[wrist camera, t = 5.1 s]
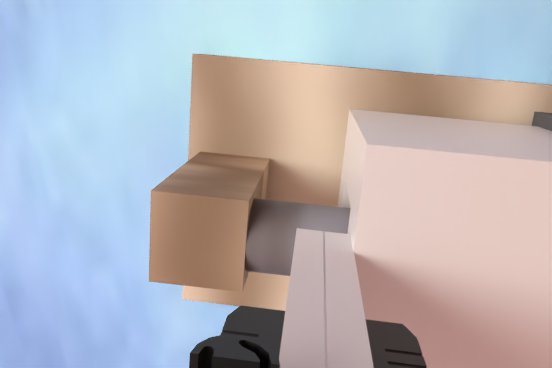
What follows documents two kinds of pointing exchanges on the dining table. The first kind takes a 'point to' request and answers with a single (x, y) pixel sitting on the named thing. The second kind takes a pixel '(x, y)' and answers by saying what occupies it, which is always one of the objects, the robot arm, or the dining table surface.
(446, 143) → the sleeve
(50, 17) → the dining table surface
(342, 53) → the dining table surface
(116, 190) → the dining table surface
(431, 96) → the rail
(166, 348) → the dining table surface
